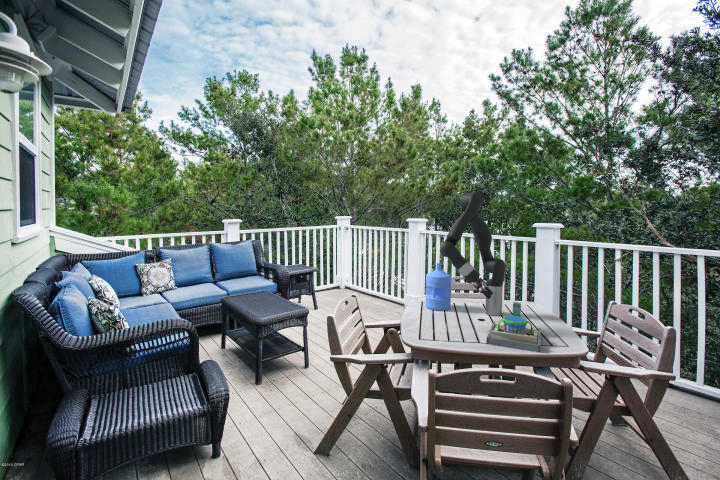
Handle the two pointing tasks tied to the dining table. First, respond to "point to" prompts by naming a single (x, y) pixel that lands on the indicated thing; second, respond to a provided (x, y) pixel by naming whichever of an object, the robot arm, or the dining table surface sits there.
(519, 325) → the snack cup
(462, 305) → the dining table surface
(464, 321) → the dining table surface
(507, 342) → the rectangular frame
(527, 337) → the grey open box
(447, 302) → the water jug
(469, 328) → the dining table surface
